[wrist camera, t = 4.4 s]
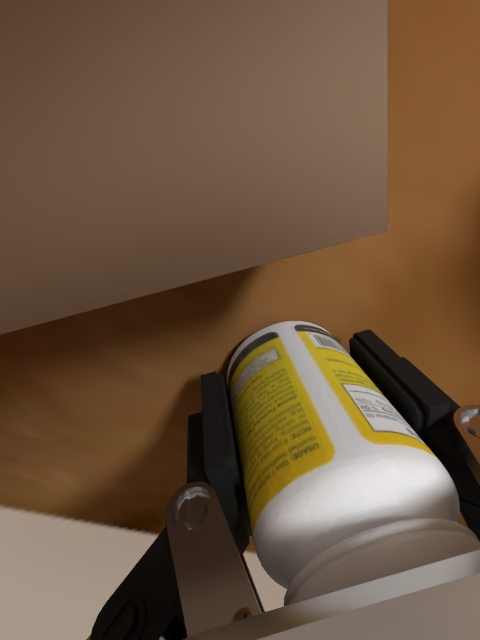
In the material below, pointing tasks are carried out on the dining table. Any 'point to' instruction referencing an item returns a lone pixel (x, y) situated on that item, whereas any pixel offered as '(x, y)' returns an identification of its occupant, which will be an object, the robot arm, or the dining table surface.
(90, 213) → the walnut block
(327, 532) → the supplement bottle
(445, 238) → the dining table surface
